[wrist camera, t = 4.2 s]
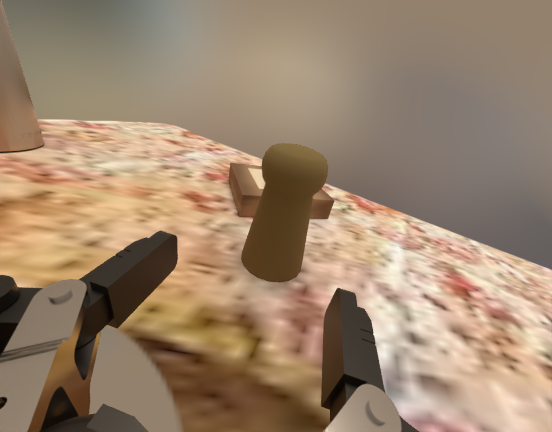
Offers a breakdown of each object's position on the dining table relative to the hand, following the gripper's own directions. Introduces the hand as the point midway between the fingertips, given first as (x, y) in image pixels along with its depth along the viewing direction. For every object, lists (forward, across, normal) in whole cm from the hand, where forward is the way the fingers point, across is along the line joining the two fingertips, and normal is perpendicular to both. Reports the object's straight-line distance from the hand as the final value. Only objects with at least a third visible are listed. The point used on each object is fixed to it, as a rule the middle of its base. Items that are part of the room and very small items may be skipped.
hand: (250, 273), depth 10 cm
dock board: (+24, +3, +6) cm, 25 cm away
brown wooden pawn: (+9, 0, +7) cm, 11 cm away
